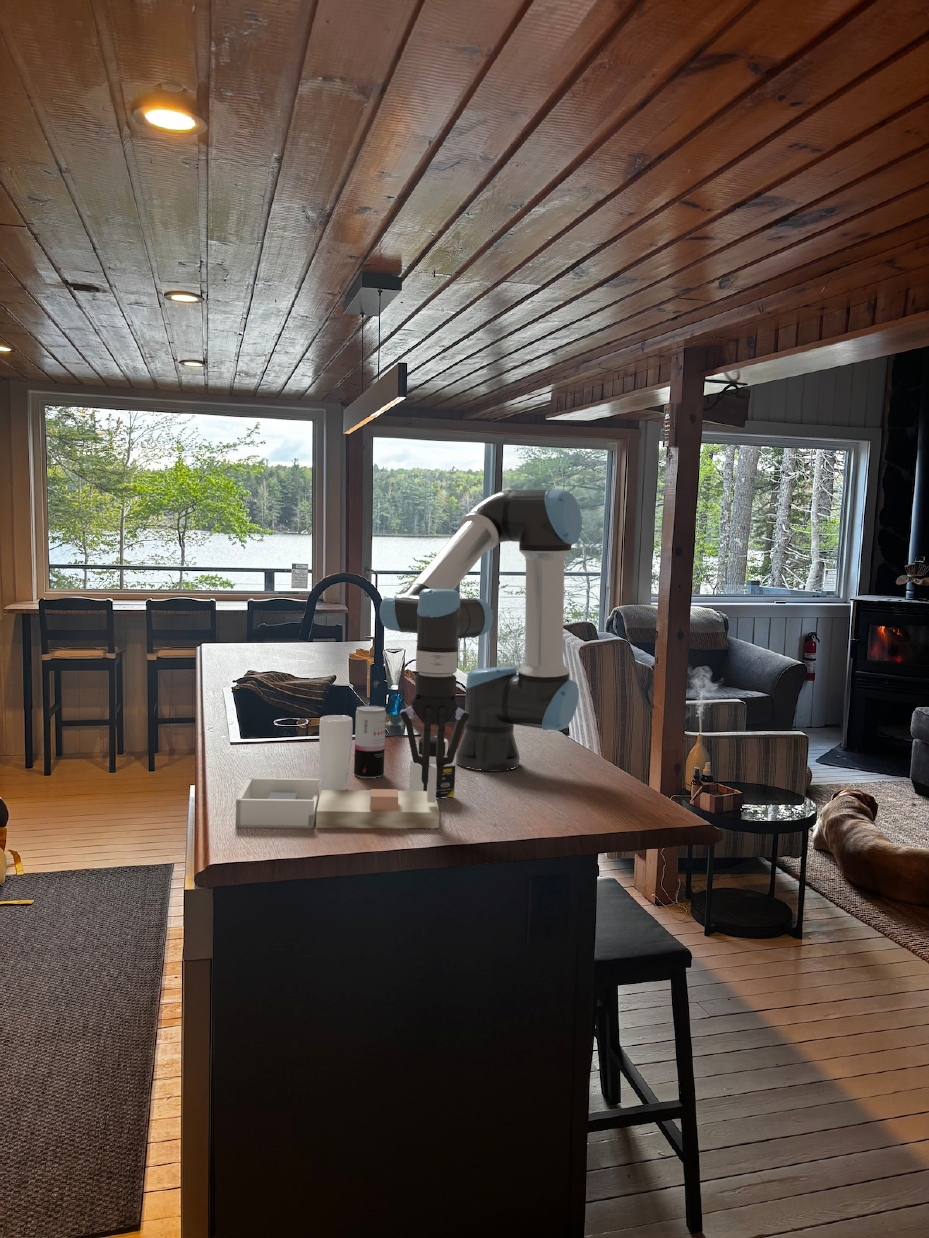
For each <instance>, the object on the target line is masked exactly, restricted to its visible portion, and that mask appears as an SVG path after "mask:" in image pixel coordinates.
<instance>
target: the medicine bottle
mask: <svg viewBox="0 0 929 1238" xmlns="http://www.w3.org/2000/svg"><path fill="white" fill-rule="evenodd" d="M436 746H437V735H430V757H429V764H436ZM422 747H423V737H421V738H420V739H419V740H418V755H420V756H422ZM448 747H449V740H448V739H447V738H445V737H444V756H446V754H447V751H448ZM409 762H410V764H409V784H408V785H409V787H408V789H409V790H408V791H427V783H422V779H421V777H422V766H421V765H420V764H418V763H414V762H413V758H411V759H410V760H409ZM455 783H456V763H454V762H453V763H451V764H446V765H444V767H443V780H442V783H441V784H436V798H442V797H453V796H454V797H455V785H456V784H455ZM454 797H453V798H454Z"/></svg>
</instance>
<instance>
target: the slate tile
mask: <svg viewBox="0 0 929 1238" xmlns="http://www.w3.org/2000/svg"><path fill="white" fill-rule="evenodd" d="M268 799H297V792H271V793H270V795H269V797H268Z"/></svg>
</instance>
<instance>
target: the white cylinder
mask: <svg viewBox="0 0 929 1238" xmlns="http://www.w3.org/2000/svg"><path fill="white" fill-rule="evenodd" d="M353 725H354V724H353V718H352V717H351V716H349V715H340V714H339V715H338V714H337V715H336V714H333V715H331V714H330V715H323V716H321V717H320V719H319V730H318V731H319V732H318V734H319V735H318V738H319V739H318V740H319V757H320V773H321V774H320V777H321V780H320V781H321V784H320V786H321V790H348V779H349V771H350V770H349V769H350V761H351V760H350V759H351V752H352V745H353V731H354V730H353V727H354V726H353Z"/></svg>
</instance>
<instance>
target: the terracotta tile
mask: <svg viewBox="0 0 929 1238" xmlns="http://www.w3.org/2000/svg"><path fill="white" fill-rule="evenodd" d="M370 790H371V797H370V810H398V791H399V789H398V788H394V789H391V788H390V789H389V788H388V789H387V788H385V789H384V788H370Z"/></svg>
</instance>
